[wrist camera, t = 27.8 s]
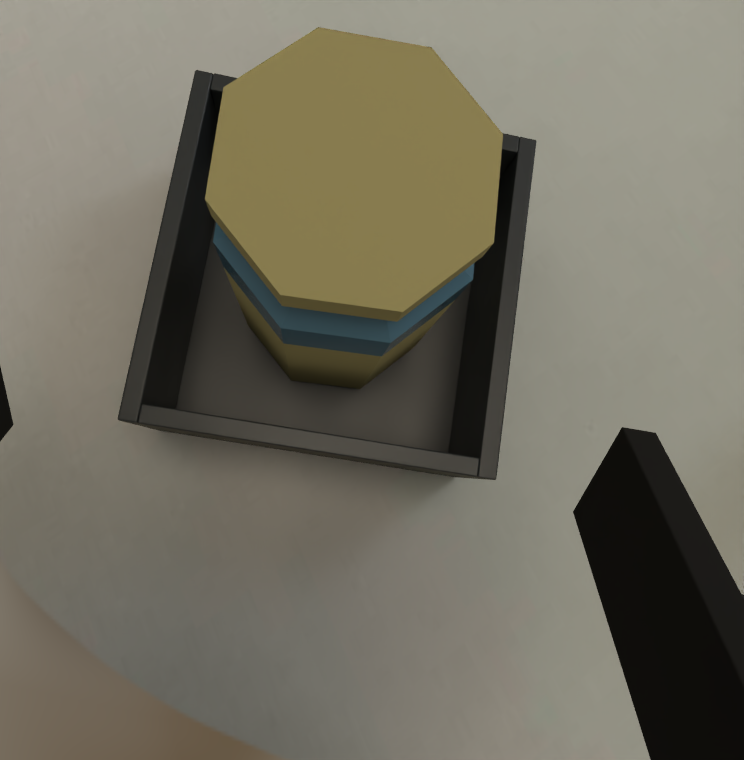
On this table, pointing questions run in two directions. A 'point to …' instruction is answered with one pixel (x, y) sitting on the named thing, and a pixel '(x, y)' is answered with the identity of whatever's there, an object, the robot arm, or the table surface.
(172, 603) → the table surface
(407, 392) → the bin
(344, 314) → the jar
